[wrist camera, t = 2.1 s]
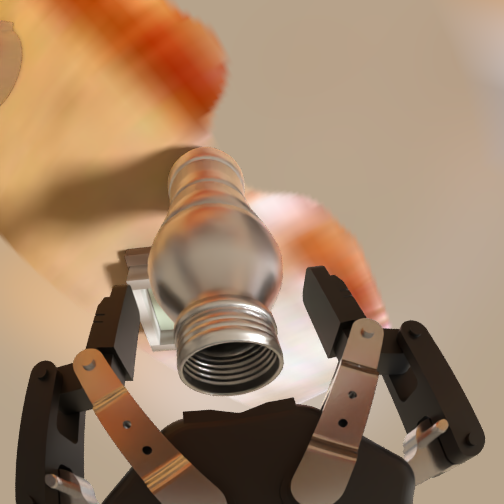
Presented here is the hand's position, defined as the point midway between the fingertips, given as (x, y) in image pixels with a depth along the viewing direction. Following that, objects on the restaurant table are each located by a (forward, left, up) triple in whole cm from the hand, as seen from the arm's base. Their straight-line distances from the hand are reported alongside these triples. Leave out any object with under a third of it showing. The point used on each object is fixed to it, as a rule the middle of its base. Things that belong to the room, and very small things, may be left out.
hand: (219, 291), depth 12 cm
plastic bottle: (0, 0, -16) cm, 16 cm away
